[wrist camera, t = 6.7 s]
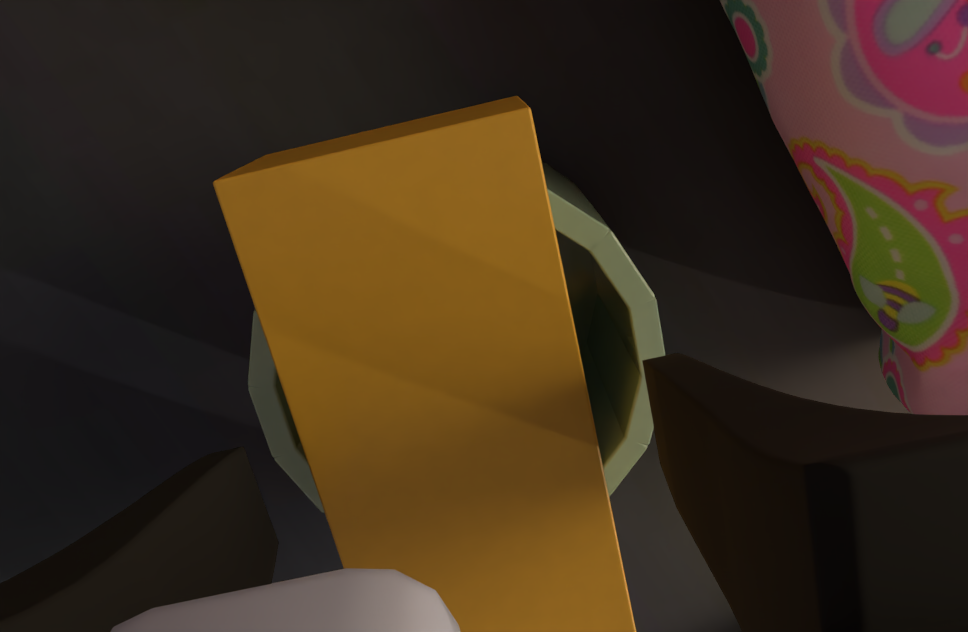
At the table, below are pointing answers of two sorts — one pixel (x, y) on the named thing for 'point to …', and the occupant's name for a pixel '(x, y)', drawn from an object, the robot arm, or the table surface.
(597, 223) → the cup
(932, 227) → the pencil case
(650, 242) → the table surface
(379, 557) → the block
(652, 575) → the table surface
